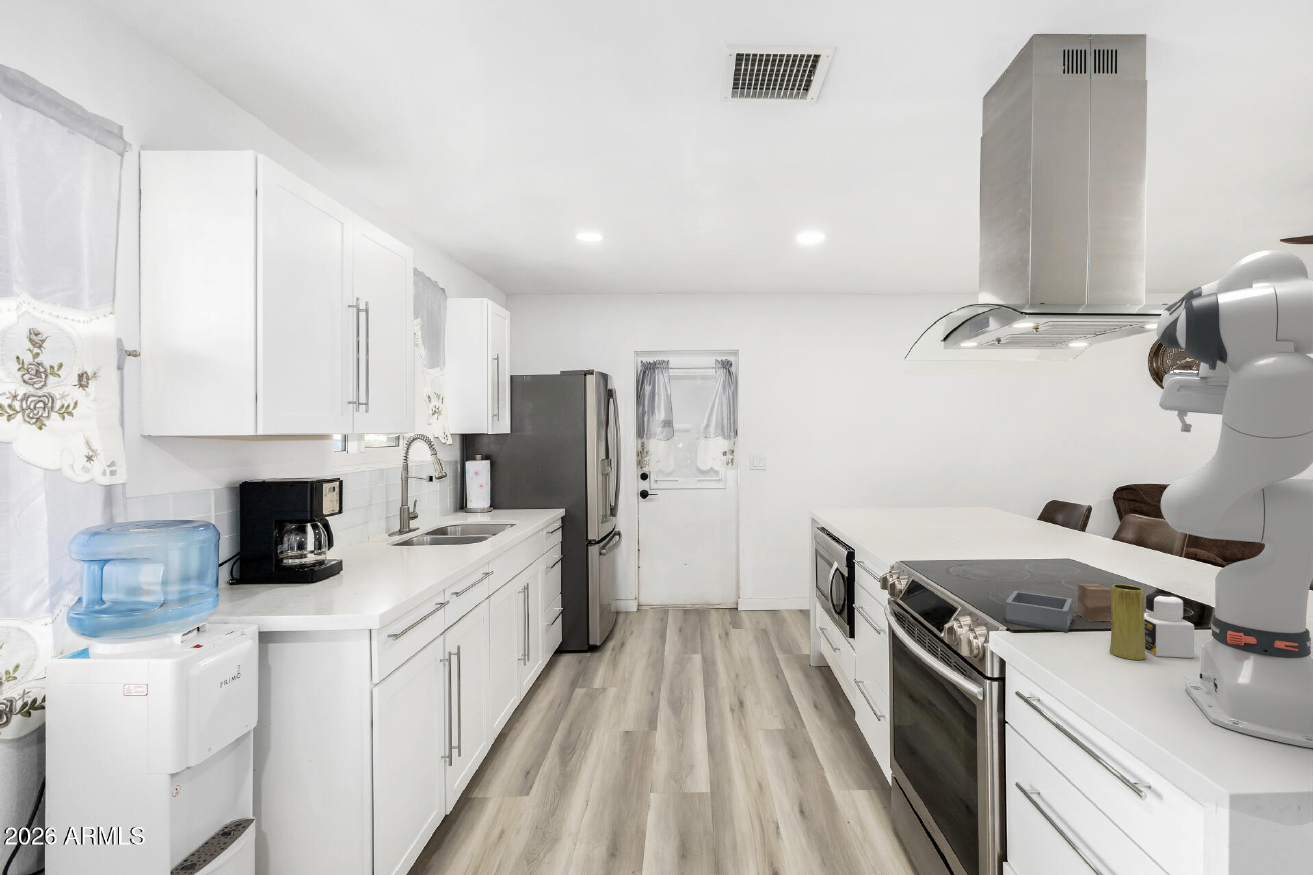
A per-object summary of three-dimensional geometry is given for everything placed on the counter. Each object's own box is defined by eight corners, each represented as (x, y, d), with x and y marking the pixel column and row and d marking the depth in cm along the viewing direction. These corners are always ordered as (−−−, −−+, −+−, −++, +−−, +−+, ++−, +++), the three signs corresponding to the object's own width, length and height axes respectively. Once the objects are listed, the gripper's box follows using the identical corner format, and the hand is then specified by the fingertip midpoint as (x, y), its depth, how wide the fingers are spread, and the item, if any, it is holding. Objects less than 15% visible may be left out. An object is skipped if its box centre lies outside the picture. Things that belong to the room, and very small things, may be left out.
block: (1111, 621, 148) (1111, 589, 147) (1089, 621, 148) (1089, 589, 148) (1099, 615, 153) (1099, 584, 152) (1077, 615, 153) (1077, 583, 153)
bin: (1067, 632, 140) (1067, 611, 140) (1005, 622, 148) (1005, 601, 148) (1072, 618, 150) (1072, 598, 150) (1014, 609, 158) (1014, 590, 158)
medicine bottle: (1135, 644, 132) (1135, 590, 132) (1172, 646, 131) (1172, 591, 131) (1155, 656, 125) (1155, 599, 125) (1194, 658, 124) (1195, 600, 124)
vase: (1110, 656, 126) (1110, 588, 126) (1108, 647, 131) (1108, 581, 131) (1147, 662, 122) (1147, 592, 122) (1144, 653, 127) (1144, 585, 127)
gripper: (1162, 367, 137) (1150, 427, 138) (1291, 372, 122) (1277, 439, 122) (1168, 371, 141) (1156, 430, 142) (1293, 376, 126) (1280, 442, 126)
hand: (1213, 434), depth 132 cm, fingers open, 8 cm apart
